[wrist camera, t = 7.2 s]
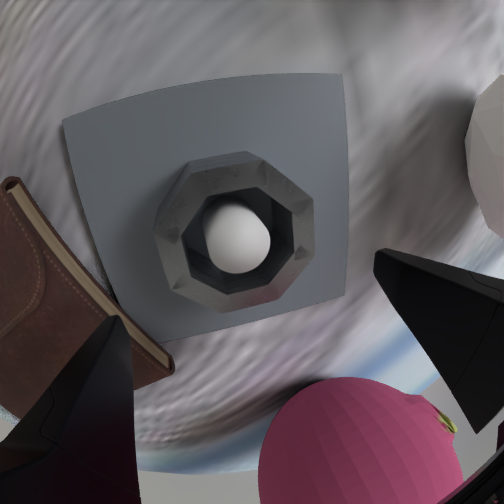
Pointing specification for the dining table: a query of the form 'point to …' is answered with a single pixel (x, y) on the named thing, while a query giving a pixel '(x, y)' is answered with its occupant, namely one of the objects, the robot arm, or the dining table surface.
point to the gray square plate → (215, 206)
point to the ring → (281, 236)
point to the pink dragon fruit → (357, 447)
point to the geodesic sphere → (488, 154)
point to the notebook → (51, 306)
